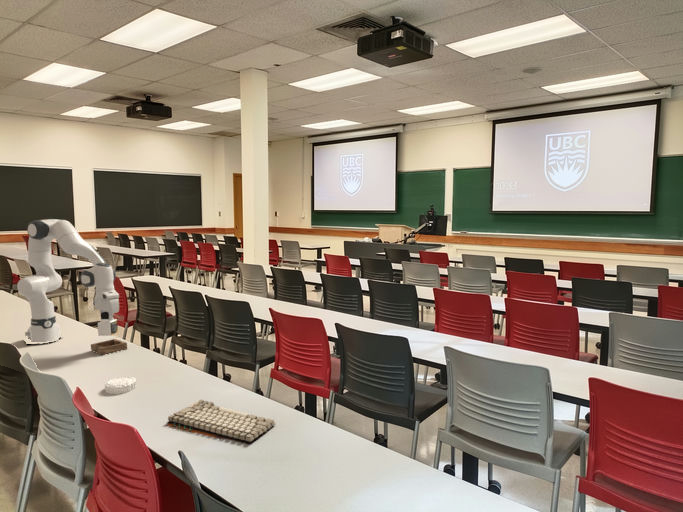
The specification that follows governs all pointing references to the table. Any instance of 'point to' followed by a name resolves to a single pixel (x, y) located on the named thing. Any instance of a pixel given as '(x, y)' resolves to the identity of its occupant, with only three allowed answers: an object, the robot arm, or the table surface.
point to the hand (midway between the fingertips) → (107, 319)
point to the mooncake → (120, 385)
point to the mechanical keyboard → (220, 422)
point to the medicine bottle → (107, 325)
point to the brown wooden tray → (109, 346)
